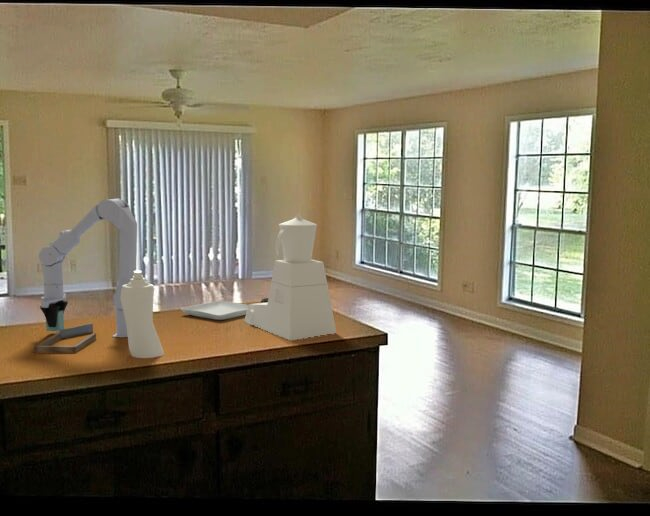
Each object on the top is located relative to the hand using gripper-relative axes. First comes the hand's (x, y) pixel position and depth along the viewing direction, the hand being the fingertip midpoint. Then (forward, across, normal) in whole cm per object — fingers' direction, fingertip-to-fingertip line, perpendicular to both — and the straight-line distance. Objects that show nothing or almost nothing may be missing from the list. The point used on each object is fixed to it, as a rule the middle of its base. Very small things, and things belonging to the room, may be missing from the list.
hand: (55, 325), depth 204 cm
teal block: (+2, 0, 0) cm, 2 cm away
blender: (+4, -10, +75) cm, 75 cm away
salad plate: (+4, -33, +48) cm, 58 cm away
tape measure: (+3, -44, +69) cm, 82 cm away
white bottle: (+3, +25, +36) cm, 44 cm away
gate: (+3, +7, +4) cm, 9 cm away
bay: (+3, +16, +10) cm, 19 cm away
